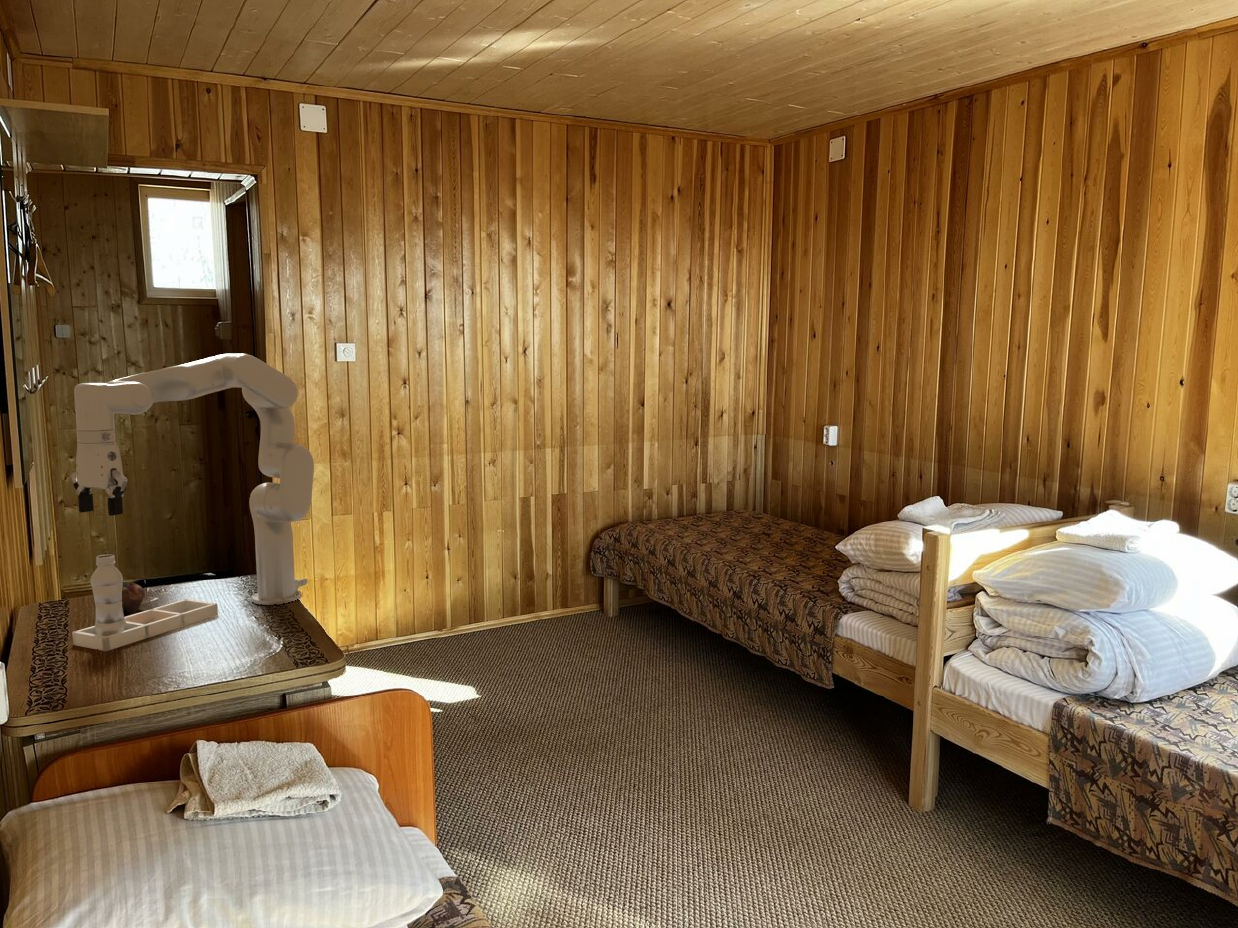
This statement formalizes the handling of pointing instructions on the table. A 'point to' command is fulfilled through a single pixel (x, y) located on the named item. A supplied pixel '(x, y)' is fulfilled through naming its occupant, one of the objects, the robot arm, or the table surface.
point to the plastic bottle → (108, 597)
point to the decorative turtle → (132, 597)
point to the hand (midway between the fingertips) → (100, 513)
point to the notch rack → (148, 624)
